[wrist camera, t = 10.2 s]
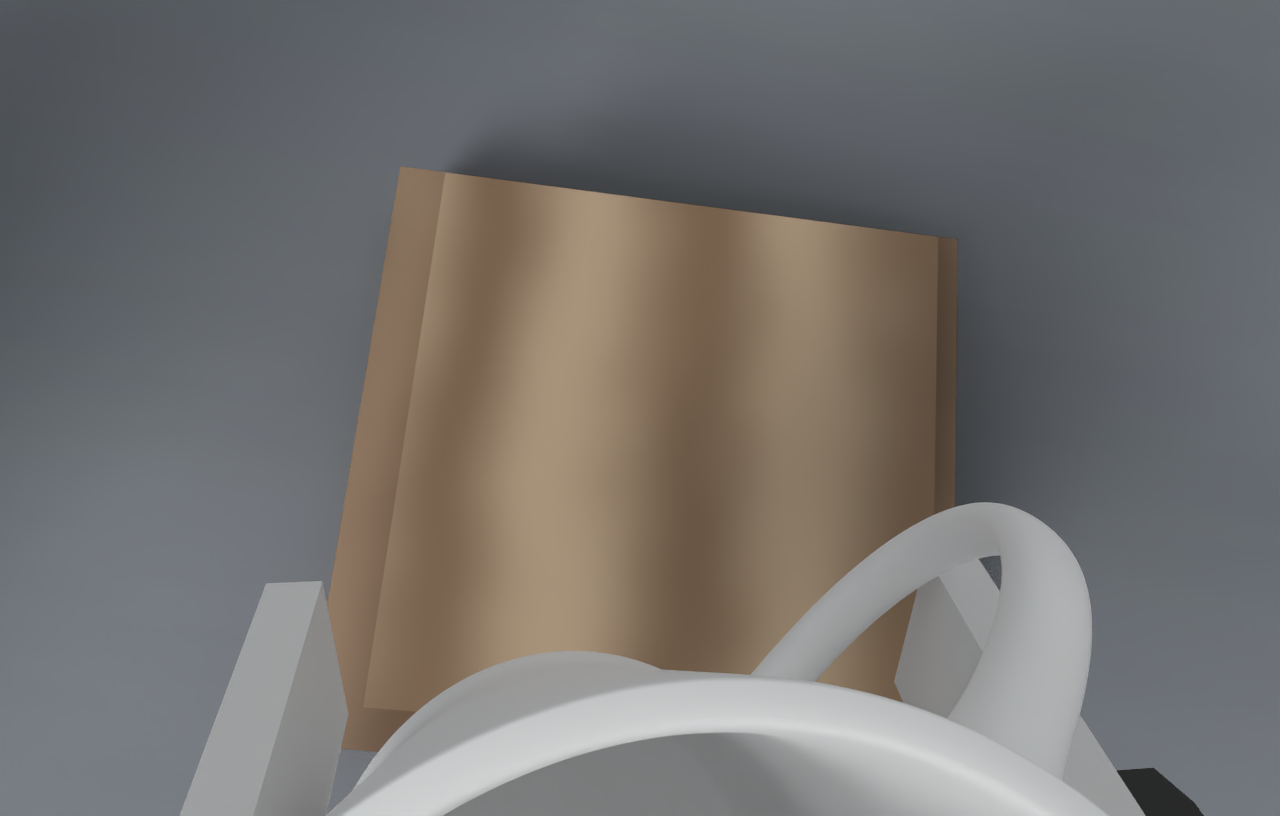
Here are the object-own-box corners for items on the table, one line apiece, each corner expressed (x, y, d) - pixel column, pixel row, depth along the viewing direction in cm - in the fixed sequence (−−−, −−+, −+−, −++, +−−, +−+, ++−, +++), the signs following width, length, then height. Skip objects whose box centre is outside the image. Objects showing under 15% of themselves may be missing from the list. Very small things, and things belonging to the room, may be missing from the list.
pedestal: (328, 731, 28) (272, 763, 22) (413, 206, 32) (384, 117, 26) (912, 778, 30) (1002, 819, 24) (921, 271, 34) (1000, 200, 28)
